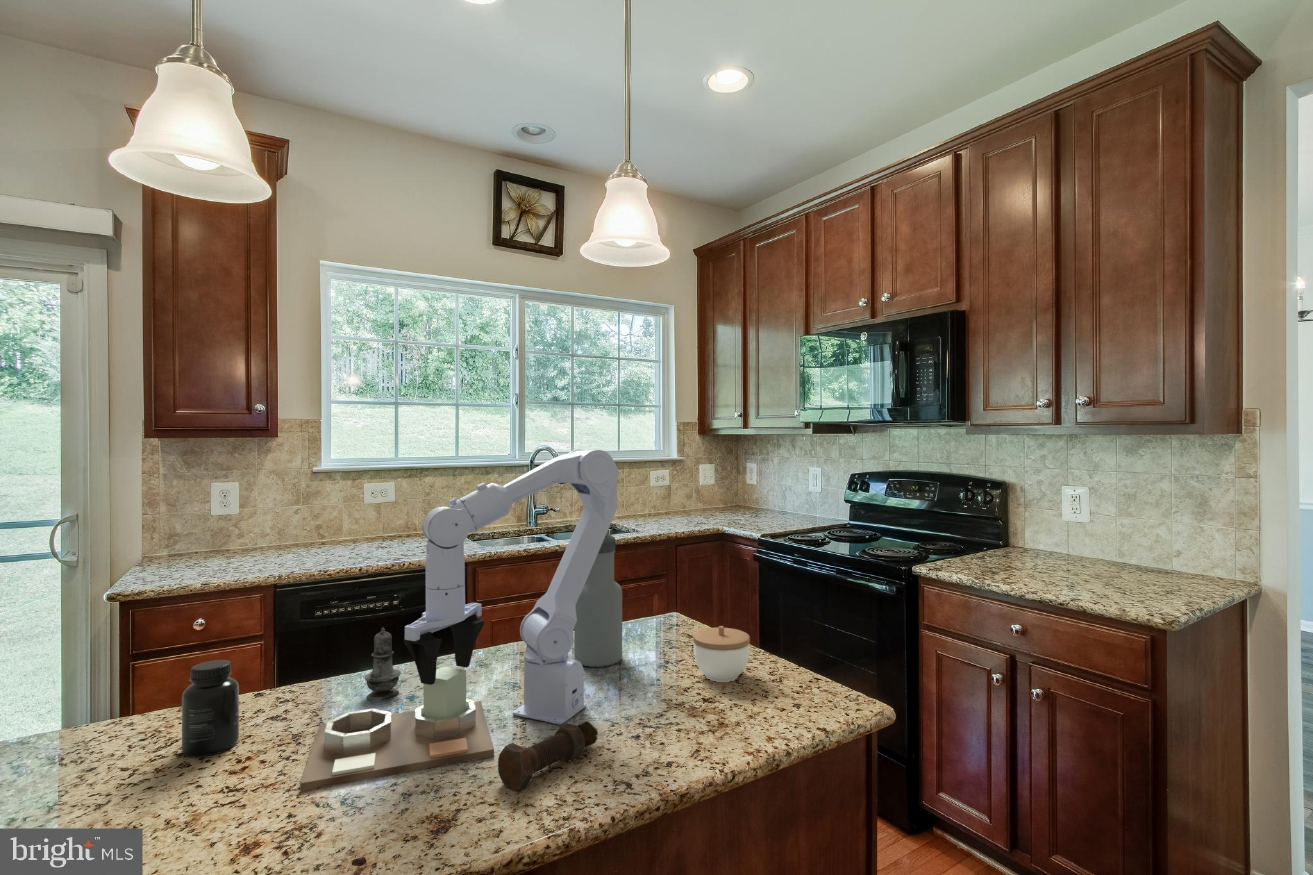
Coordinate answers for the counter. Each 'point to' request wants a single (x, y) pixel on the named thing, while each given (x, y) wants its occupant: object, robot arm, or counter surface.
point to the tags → (369, 759)
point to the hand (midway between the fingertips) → (445, 674)
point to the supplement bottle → (210, 710)
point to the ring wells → (389, 728)
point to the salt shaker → (382, 670)
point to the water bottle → (599, 613)
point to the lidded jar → (721, 652)
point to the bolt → (543, 754)
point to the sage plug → (445, 694)
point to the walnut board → (395, 752)
